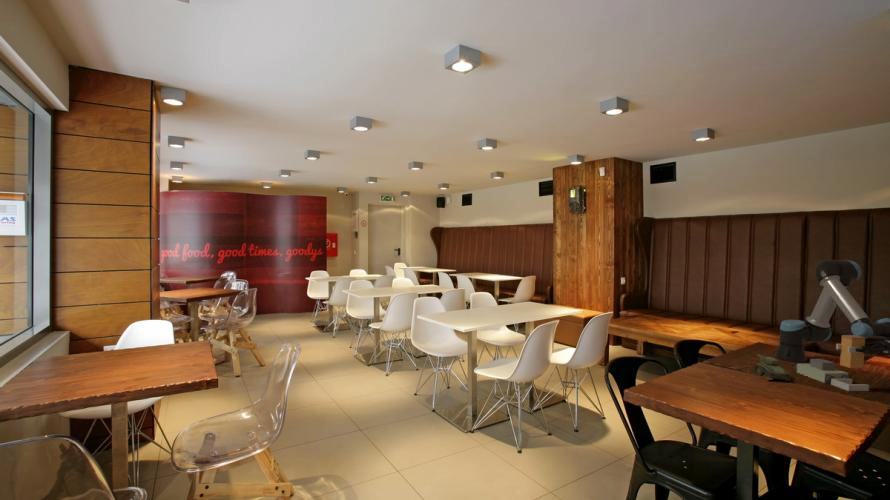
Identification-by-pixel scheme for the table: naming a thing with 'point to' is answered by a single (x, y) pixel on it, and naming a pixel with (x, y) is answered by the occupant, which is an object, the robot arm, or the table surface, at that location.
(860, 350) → the robot arm
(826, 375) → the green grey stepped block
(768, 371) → the toy
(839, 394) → the table surface
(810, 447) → the table surface
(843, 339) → the tan wooden block
